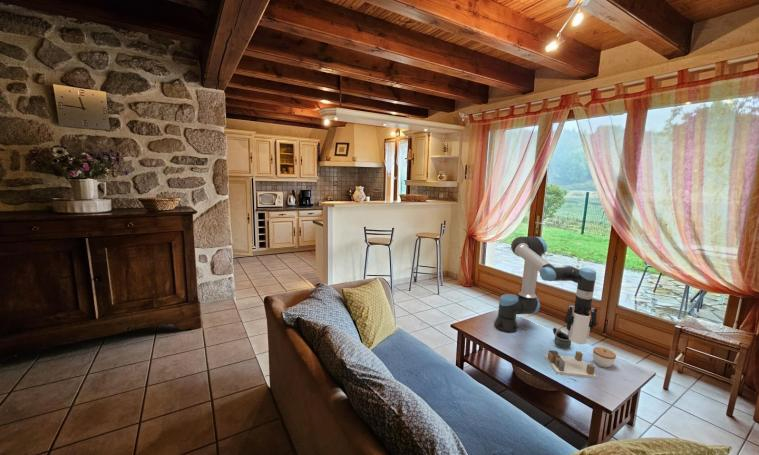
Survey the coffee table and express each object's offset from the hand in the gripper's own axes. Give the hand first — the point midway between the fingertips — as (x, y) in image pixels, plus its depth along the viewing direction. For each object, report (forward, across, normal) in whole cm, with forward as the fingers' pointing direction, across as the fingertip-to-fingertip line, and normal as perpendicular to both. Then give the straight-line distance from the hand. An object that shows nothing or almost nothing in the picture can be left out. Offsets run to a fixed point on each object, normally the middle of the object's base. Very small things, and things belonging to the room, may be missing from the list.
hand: (577, 336), depth 176 cm
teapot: (+19, +3, +25) cm, 32 cm away
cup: (+2, 0, 0) cm, 2 cm away
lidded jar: (+19, +19, +7) cm, 28 cm away
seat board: (+19, -2, 0) cm, 19 cm away
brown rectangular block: (+17, -9, 0) cm, 19 cm away
